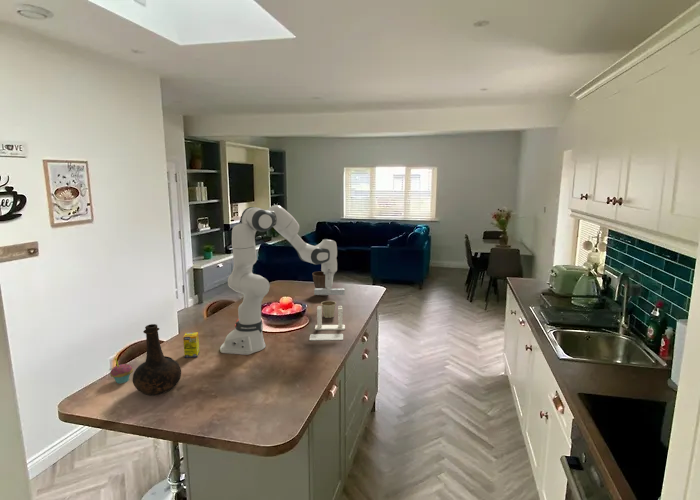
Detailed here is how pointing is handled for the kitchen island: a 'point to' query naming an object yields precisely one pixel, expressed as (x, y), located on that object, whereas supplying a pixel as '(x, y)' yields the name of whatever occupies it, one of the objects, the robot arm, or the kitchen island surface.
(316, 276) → the plant pot
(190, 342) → the supplement box
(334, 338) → the pad
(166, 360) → the glass bottle
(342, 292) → the rail
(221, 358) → the kitchen island surface
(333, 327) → the twin post stand
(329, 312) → the flower pot
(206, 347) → the kitchen island surface
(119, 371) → the cupcake
